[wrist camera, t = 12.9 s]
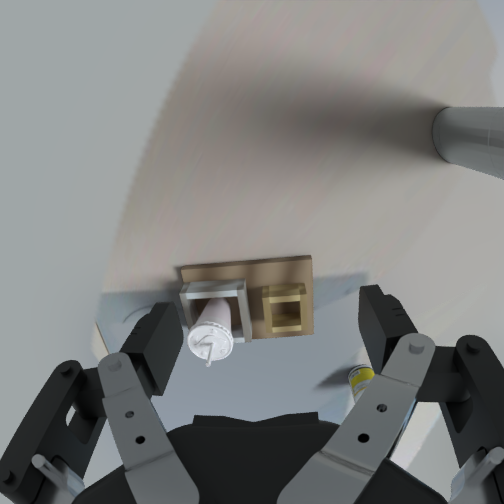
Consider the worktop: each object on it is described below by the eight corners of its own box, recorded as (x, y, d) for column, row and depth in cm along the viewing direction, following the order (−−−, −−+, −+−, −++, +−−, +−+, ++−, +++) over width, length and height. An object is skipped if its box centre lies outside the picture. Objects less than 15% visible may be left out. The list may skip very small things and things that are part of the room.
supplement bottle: (371, 380, 56) (382, 415, 47) (346, 383, 57) (355, 420, 48) (375, 362, 54) (388, 397, 45) (349, 365, 55) (359, 402, 46)
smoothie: (244, 317, 49) (237, 378, 36) (208, 325, 50) (192, 385, 37) (230, 284, 47) (217, 341, 34) (193, 294, 48) (170, 351, 35)
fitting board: (310, 255, 46) (315, 269, 42) (312, 329, 52) (316, 347, 47) (183, 266, 48) (174, 280, 43) (199, 336, 53) (194, 354, 49)
